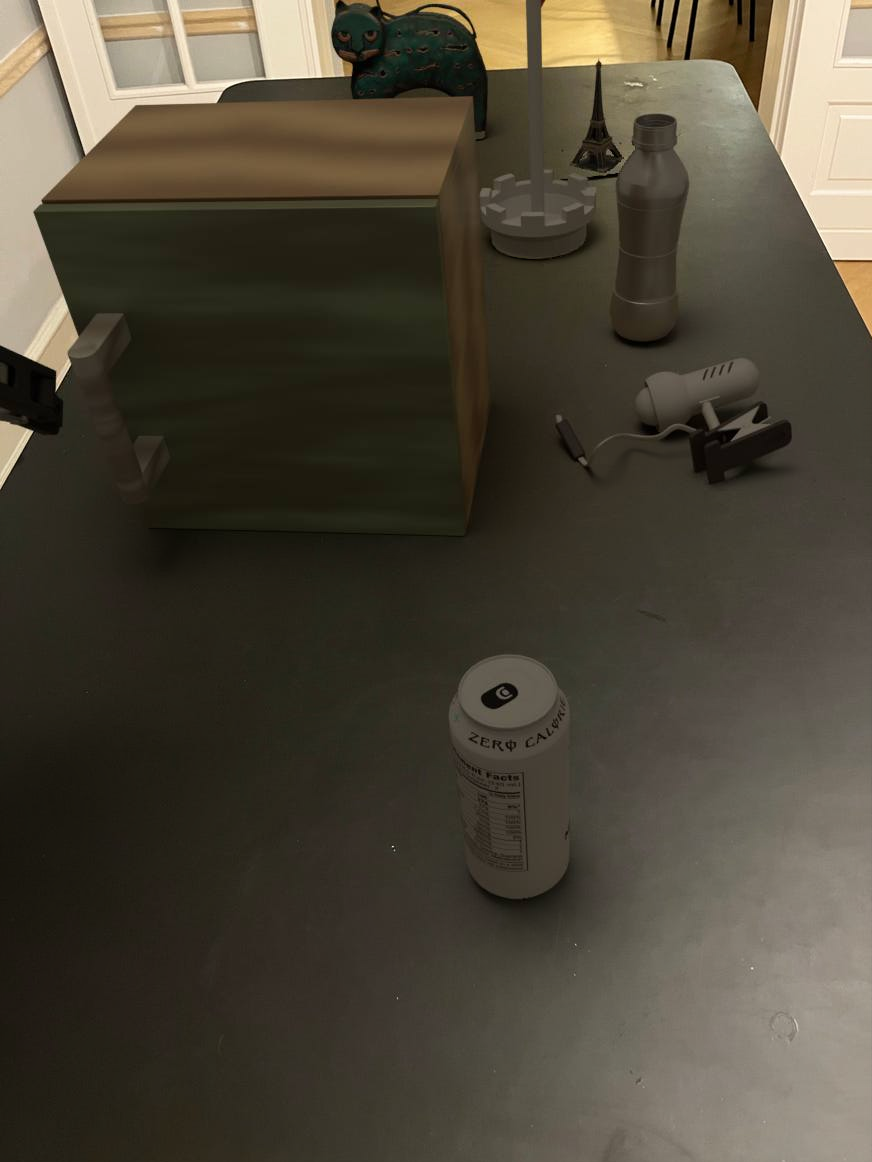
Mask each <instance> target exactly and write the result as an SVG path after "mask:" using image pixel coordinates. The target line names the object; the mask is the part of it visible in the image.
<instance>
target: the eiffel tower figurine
mask: <svg viewBox="0 0 872 1162" xmlns="http://www.w3.org/2000/svg"><path fill="white" fill-rule="evenodd" d="M602 67H603V65H602V62H601V61H600V59H598V60H597V62H596V63H595V70H596V71H595V82H594V95H593V105H592V113H591V118H590V120H589V127H588V130H587V132H586V136H585V138H583V139H582V141H581V146H580V147H581V148H580V147H579V148H580V149H579V151H578V153H577V154H576V156H575V158H574V159H573V161H572V162H571V163H570V164H569V165H570V166H574V167H577V168H578V167H579V168H581V169H585V170H590V171H595V172H599V173H606V172H607V171H610V170H611V169H613V168H614V167H615V166H616V165H617V164H618V163H619V162H621V160H622V159H624V157H622V155H621V154H620V152H619V151H618V149H617V148H616V146H615V145H614V144H615V143H614V142H613V136H611V135H610V134H609V131H608V128H607V124H606V119H607V118H605V115H604V108H603V107H604V105H603V91H602V89H603V88H602ZM630 141H631V142H632V140H630ZM607 149H609V150H610V151H611V152H612V154H613V155H614V156H611V155H606V151H607ZM587 151H588V152H587ZM585 152H587V154H586V156H587V158H585V155H584V156H583V154H584V153H585ZM582 158H585V159H582ZM580 159H582V160H580Z"/></svg>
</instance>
